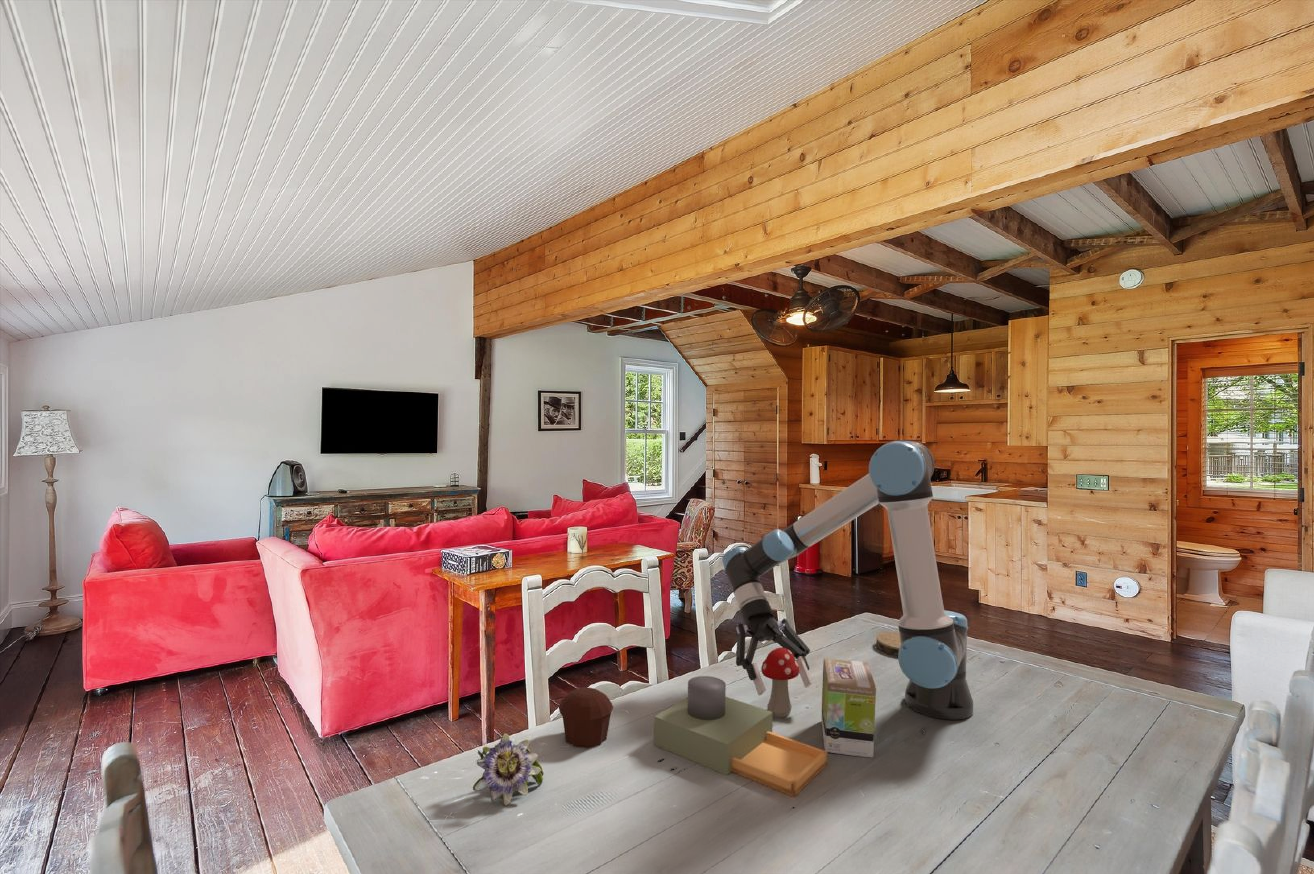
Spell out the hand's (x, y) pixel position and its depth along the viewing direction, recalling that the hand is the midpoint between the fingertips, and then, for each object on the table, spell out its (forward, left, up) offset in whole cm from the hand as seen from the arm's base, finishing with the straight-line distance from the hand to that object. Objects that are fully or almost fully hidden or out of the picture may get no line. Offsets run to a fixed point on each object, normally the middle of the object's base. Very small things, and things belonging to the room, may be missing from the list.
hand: (786, 688), depth 148 cm
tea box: (-15, +1, -7) cm, 16 cm away
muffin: (+28, +37, -7) cm, 47 cm away
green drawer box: (0, +21, -6) cm, 22 cm away
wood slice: (-7, -64, -7) cm, 65 cm away
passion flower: (+25, +60, -7) cm, 65 cm away
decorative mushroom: (+2, -1, -7) cm, 7 cm away
